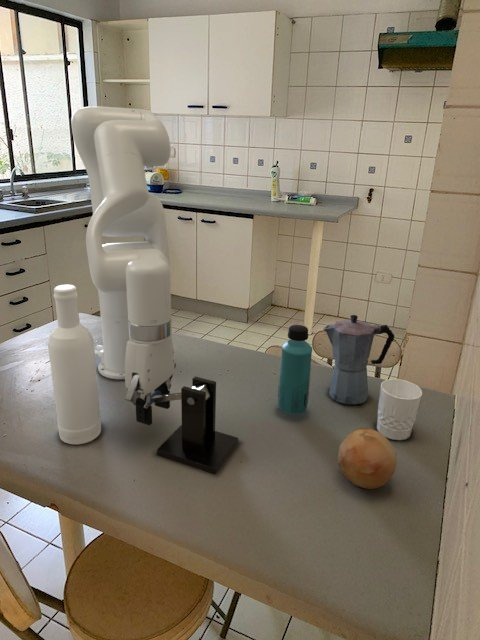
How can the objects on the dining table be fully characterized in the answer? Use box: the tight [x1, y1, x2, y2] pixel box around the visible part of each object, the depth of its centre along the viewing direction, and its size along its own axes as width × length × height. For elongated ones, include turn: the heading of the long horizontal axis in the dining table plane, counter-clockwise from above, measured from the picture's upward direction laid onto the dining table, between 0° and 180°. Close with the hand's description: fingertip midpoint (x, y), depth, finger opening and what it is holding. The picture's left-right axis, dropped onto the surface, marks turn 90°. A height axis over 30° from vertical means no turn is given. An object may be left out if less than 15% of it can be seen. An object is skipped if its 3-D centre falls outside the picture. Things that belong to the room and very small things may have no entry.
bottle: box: [47, 283, 102, 445], centre depth 85 cm, size 8×8×30 cm
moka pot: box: [322, 314, 395, 405], centre depth 104 cm, size 10×15×20 cm, turn 88°
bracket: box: [156, 376, 239, 475], centre depth 85 cm, size 12×10×14 cm
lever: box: [149, 384, 210, 406], centre depth 86 cm, size 13×5×2 cm, turn 66°
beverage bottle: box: [277, 324, 313, 415], centre depth 97 cm, size 6×7×20 cm
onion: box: [337, 426, 398, 490], centre depth 79 cm, size 10×10×10 cm
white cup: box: [376, 378, 423, 441], centre depth 93 cm, size 8×8×10 cm
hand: (153, 413), depth 89 cm, fingers open, 5 cm apart
